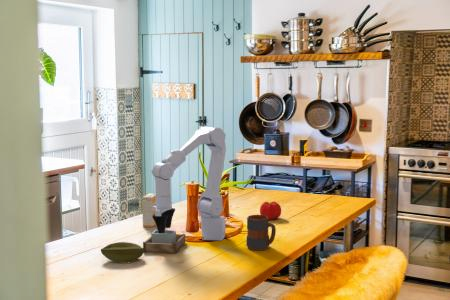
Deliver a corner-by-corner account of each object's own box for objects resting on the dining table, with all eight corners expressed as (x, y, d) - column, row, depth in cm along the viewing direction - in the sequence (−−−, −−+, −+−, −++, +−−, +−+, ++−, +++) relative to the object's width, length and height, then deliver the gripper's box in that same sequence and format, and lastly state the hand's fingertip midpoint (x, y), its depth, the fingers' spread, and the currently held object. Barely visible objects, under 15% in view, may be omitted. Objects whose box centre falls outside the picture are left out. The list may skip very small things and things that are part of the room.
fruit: (124, 268, 201) (123, 249, 200) (99, 261, 208) (98, 243, 207) (147, 259, 210) (146, 241, 209) (122, 253, 217) (122, 236, 216)
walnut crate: (185, 243, 228) (185, 233, 228) (175, 253, 215) (175, 243, 215) (154, 242, 231) (154, 232, 230) (143, 252, 218) (142, 242, 217)
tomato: (257, 220, 263) (257, 203, 262) (263, 215, 271) (263, 199, 270) (277, 222, 259) (277, 205, 258) (283, 217, 267) (283, 201, 266)
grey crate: (176, 244, 225) (175, 230, 224) (172, 248, 220) (172, 234, 219) (155, 243, 226) (155, 229, 225) (151, 247, 221) (151, 233, 221)
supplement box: (153, 227, 253) (152, 197, 251) (142, 227, 254) (141, 196, 252) (159, 222, 261) (158, 193, 259) (148, 222, 262) (147, 193, 260)
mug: (269, 254, 214) (268, 222, 212) (241, 248, 221) (241, 217, 220) (281, 248, 221) (281, 217, 219) (254, 243, 228) (254, 213, 226)
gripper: (158, 190, 228) (160, 225, 230) (146, 198, 214) (148, 235, 216) (176, 191, 227) (177, 225, 229) (165, 199, 213) (166, 236, 215)
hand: (164, 230), depth 222 cm, fingers open, 7 cm apart
